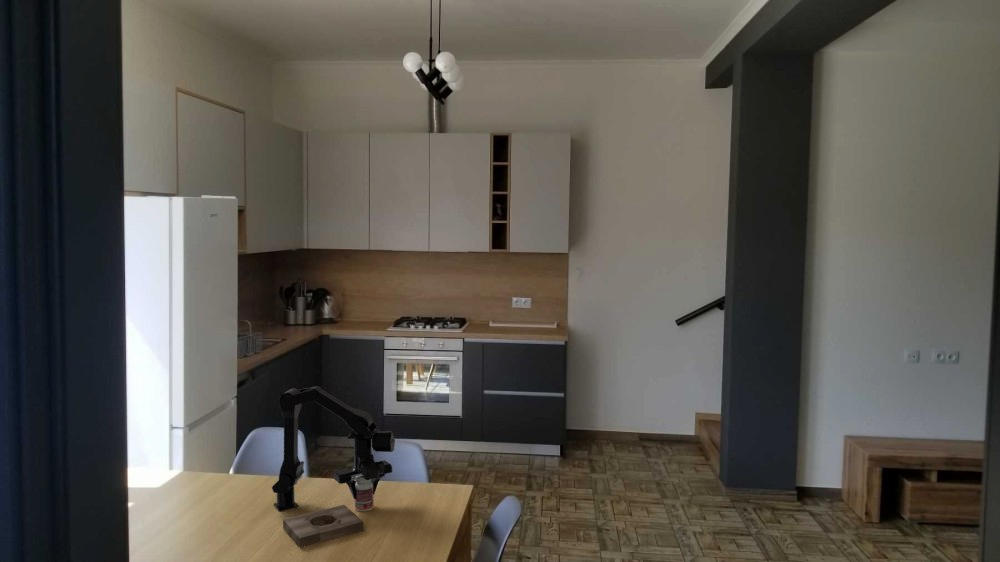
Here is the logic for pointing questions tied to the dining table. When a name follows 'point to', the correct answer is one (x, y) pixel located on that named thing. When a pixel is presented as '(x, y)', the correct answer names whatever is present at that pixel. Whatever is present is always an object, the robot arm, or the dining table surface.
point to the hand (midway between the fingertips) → (363, 496)
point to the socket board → (309, 531)
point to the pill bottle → (363, 494)
